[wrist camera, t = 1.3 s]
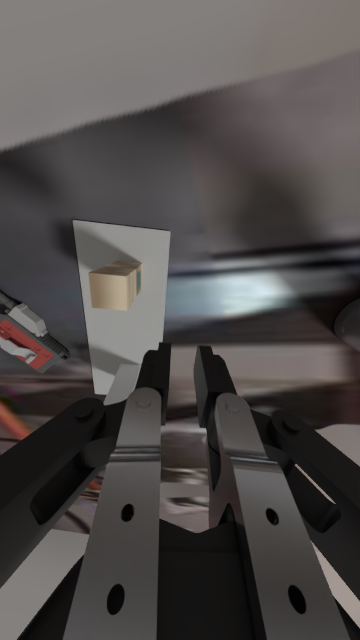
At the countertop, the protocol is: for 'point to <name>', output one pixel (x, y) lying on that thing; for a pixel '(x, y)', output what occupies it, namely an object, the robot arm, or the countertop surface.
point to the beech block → (115, 285)
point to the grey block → (123, 383)
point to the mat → (146, 310)
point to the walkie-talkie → (28, 337)
